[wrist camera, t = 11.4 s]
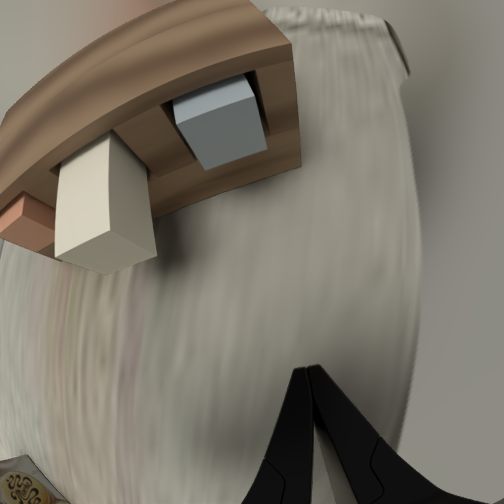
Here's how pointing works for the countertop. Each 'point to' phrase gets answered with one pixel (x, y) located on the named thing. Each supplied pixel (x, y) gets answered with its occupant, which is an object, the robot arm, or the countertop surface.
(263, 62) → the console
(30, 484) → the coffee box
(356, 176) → the countertop surface
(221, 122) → the key slate
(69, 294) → the countertop surface
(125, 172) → the key ivory
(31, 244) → the key terracotta
